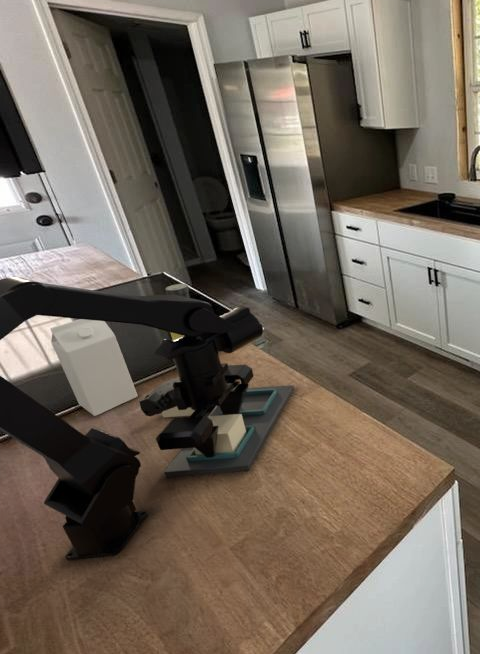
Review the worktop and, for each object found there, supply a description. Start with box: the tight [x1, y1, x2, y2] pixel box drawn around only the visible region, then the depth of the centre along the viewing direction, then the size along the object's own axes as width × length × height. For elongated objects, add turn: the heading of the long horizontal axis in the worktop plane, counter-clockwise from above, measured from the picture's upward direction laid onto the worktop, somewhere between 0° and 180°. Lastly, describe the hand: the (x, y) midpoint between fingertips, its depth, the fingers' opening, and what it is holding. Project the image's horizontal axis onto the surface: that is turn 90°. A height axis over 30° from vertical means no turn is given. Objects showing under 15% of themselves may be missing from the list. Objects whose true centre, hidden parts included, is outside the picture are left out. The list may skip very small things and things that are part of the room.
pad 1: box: [161, 406, 195, 418], centre depth 83 cm, size 5×6×4 cm
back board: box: [163, 384, 295, 478], centre depth 79 cm, size 22×13×2 cm, turn 8°
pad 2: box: [194, 414, 246, 455], centre depth 73 cm, size 5×6×4 cm
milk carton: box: [50, 319, 139, 417], centre depth 82 cm, size 7×7×19 cm
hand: (221, 440), depth 74 cm, fingers open, 7 cm apart
